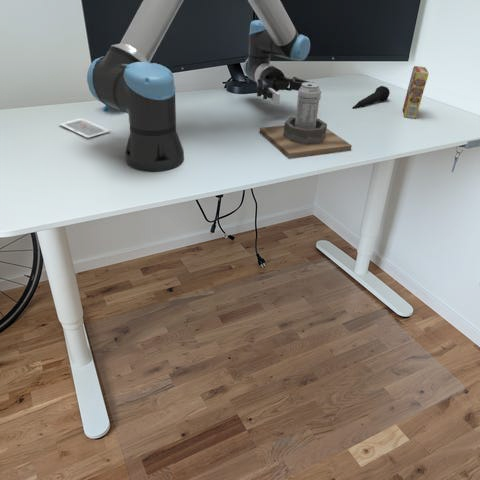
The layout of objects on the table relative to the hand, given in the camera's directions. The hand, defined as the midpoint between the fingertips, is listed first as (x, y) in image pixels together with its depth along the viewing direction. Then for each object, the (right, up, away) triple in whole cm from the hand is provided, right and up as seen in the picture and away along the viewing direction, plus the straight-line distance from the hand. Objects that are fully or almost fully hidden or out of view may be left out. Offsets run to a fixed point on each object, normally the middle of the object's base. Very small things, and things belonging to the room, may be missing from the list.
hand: (299, 97), depth 135 cm
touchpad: (-64, -9, +3) cm, 65 cm away
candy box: (+42, +2, +26) cm, 50 cm away
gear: (-59, +1, +18) cm, 62 cm away
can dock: (+1, -13, +2) cm, 13 cm away
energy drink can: (+1, -11, +1) cm, 11 cm away
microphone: (+30, +8, +35) cm, 47 cm away
